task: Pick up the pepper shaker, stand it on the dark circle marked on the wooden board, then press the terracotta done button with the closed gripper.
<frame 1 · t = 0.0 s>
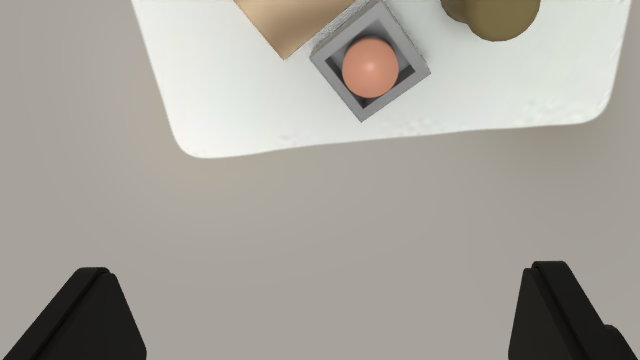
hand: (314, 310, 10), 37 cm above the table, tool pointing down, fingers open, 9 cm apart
done button: (369, 66, 41), point 4 cm above the table, slide at 0.0 cm
button housing: (369, 55, 44), on the table
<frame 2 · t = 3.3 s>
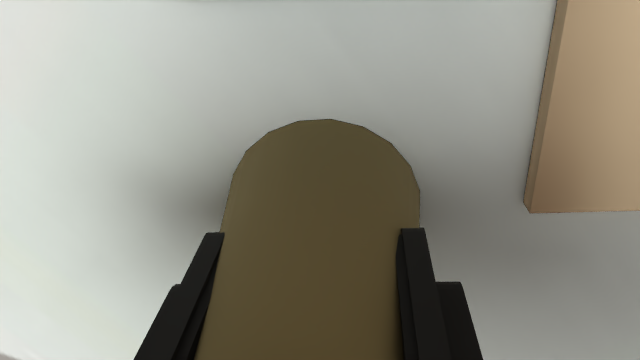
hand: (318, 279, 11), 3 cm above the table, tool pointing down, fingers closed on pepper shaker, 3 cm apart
pepper shaker: (324, 204, 14), on the table, touching gripper
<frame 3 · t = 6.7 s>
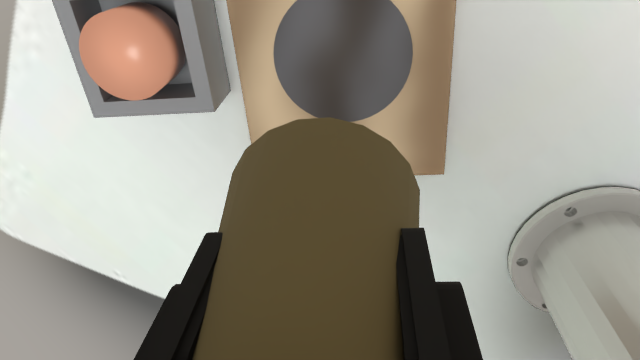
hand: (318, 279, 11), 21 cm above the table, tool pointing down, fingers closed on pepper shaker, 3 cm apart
done button: (135, 51, 26), point 4 cm above the table, slide at 0.0 cm
wooden board: (342, 55, 29), on the table
button housing: (161, 36, 29), on the table
pepper shaker: (323, 202, 14), point 18 cm above the table, touching gripper
when the fingers open (5 cm above the table, at t = 10.1 s): pepper shaker drops 1 cm, resting on wooden board.
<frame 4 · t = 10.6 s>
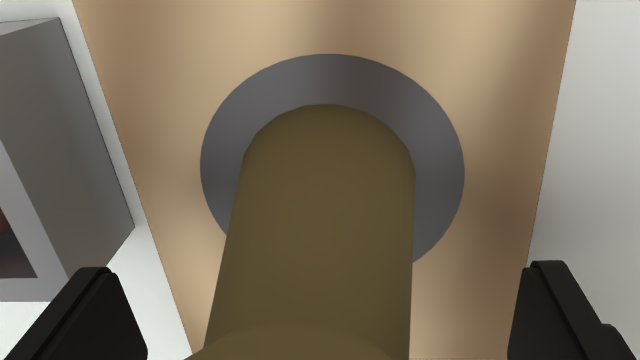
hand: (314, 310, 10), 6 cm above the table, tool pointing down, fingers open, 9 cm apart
wooden board: (330, 176, 16), on the table
pepper shaker: (327, 184, 15), point 1 cm above the table, touching wooden board
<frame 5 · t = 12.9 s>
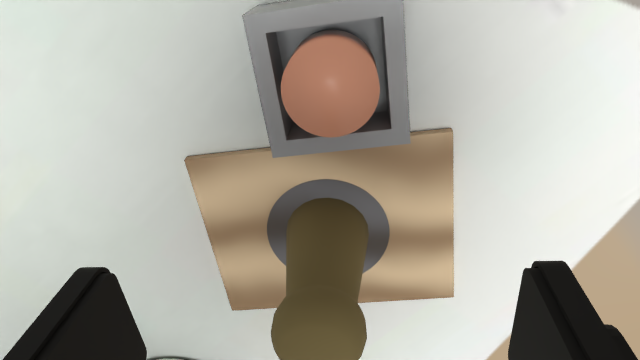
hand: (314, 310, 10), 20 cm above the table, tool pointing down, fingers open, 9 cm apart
done button: (331, 83, 23), point 4 cm above the table, slide at 0.0 cm
wooden board: (328, 228, 33), on the table
button housing: (334, 64, 27), on the table
pepper shaker: (327, 231, 32), point 1 cm above the table, touching wooden board
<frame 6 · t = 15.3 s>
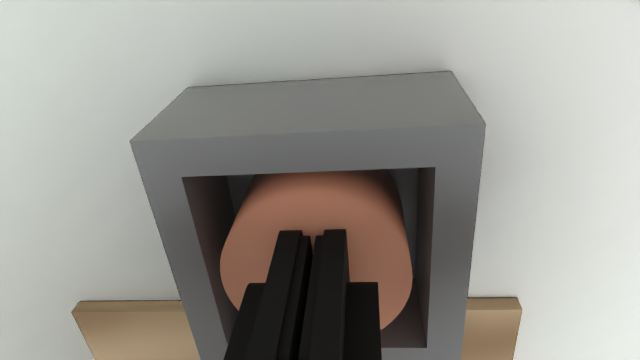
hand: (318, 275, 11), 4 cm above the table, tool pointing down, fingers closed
done button: (319, 243, 13), point 3 cm above the table, slide at 1.2 cm, touching gripper
button housing: (325, 193, 15), on the table
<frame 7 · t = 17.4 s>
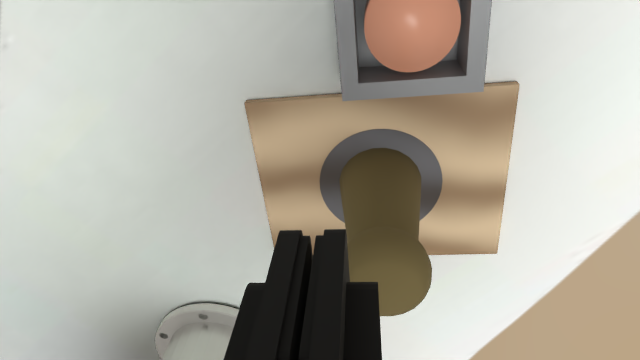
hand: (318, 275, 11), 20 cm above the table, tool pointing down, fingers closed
done button: (409, 19, 24), point 3 cm above the table, slide at 1.3 cm
wooden board: (379, 179, 33), on the table
button housing: (405, 10, 27), on the table
pepper shaker: (379, 182, 33), point 1 cm above the table, touching wooden board
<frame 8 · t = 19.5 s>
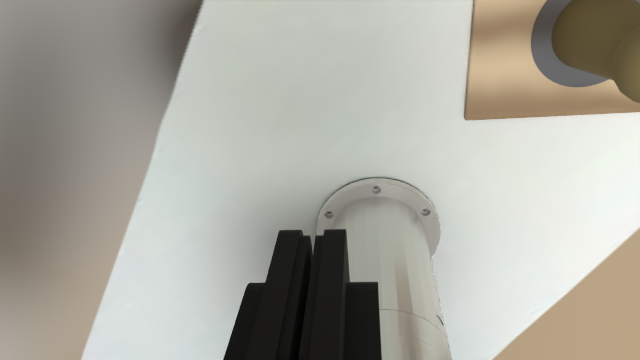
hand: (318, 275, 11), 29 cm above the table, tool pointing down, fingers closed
wooden board: (588, 29, 35), on the table
pepper shaker: (591, 29, 34), point 1 cm above the table, touching wooden board
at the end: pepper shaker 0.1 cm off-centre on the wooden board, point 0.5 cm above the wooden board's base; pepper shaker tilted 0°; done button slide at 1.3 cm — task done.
